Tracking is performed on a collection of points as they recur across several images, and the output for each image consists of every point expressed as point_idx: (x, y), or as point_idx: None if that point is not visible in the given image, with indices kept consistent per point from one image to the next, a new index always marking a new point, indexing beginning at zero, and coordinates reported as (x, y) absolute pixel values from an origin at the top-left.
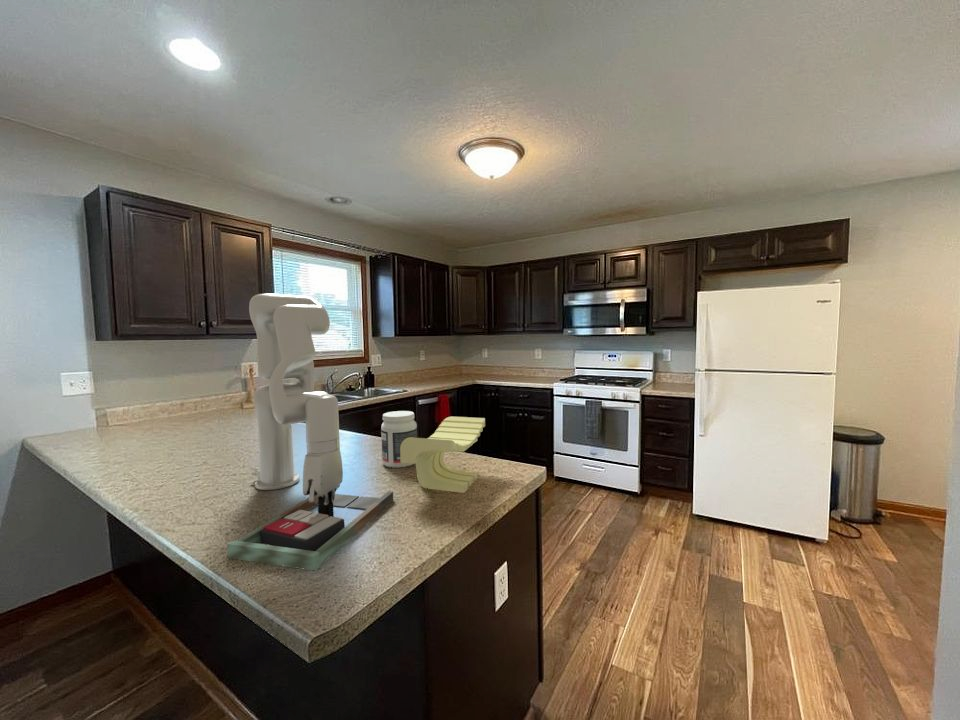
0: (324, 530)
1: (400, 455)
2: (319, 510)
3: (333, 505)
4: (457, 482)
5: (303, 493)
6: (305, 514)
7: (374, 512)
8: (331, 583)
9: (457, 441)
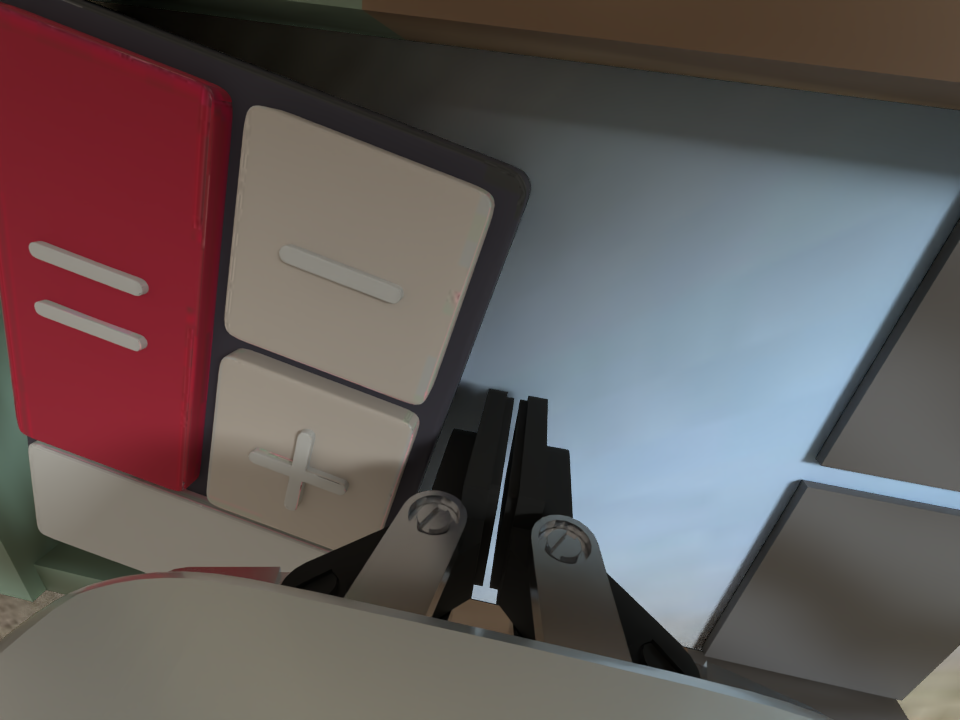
0: None
1: None
2: (440, 467)
3: (886, 356)
4: None
5: (18, 628)
6: (359, 353)
7: None
8: (58, 598)
9: None
